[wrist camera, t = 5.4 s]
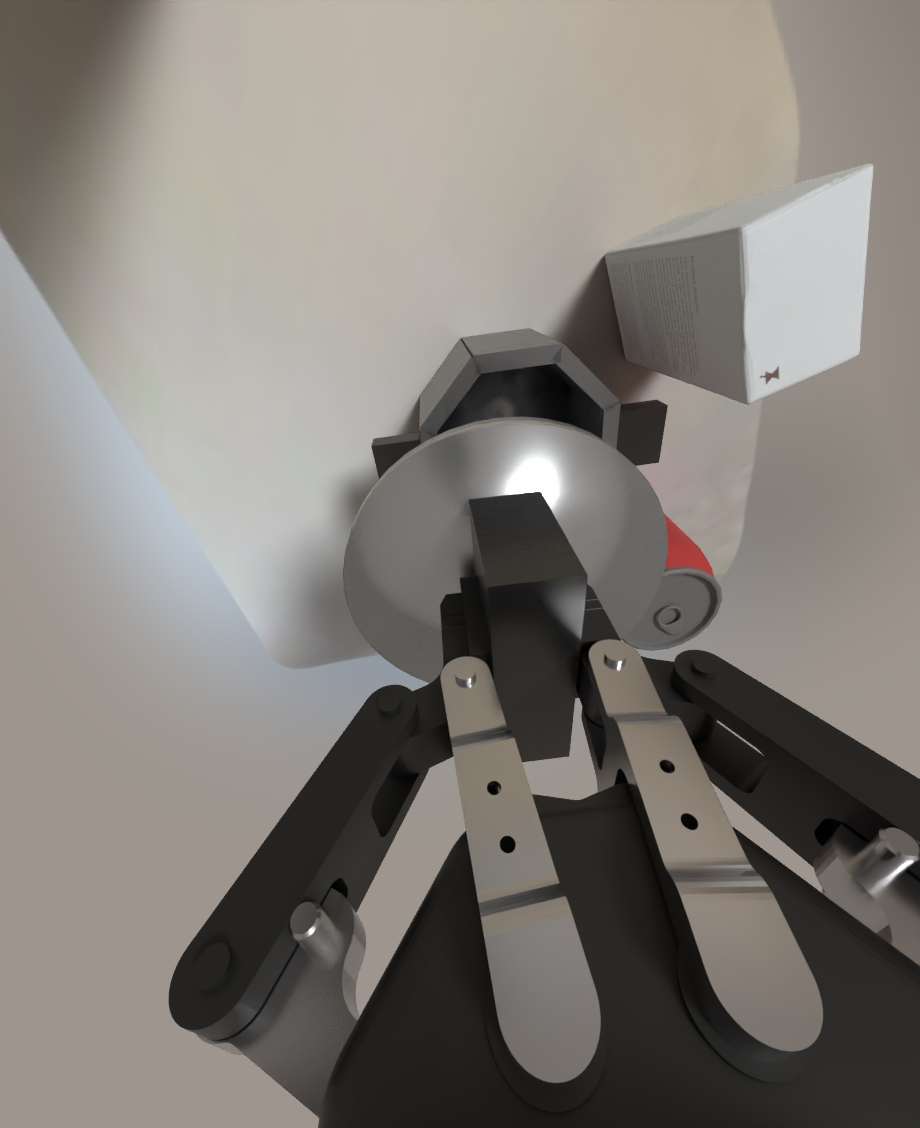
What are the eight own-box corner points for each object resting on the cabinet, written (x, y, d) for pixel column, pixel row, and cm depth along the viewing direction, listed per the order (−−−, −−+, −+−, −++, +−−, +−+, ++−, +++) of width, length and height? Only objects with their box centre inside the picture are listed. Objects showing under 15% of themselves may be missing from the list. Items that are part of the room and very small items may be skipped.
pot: (369, 350, 25) (353, 372, 19) (621, 315, 25) (682, 326, 19) (401, 503, 31) (396, 555, 25) (607, 475, 31) (651, 520, 25)
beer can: (570, 560, 35) (630, 674, 25) (534, 499, 31) (587, 601, 21) (647, 520, 33) (744, 624, 23) (618, 451, 30) (718, 537, 20)
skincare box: (692, 329, 26) (862, 360, 16) (623, 361, 26) (745, 411, 17) (679, 210, 22) (882, 155, 13) (601, 250, 23) (735, 229, 13)
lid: (305, 439, 12) (244, 526, 8) (687, 396, 12) (828, 460, 8) (380, 691, 19) (368, 815, 14) (632, 661, 19) (695, 774, 14)
